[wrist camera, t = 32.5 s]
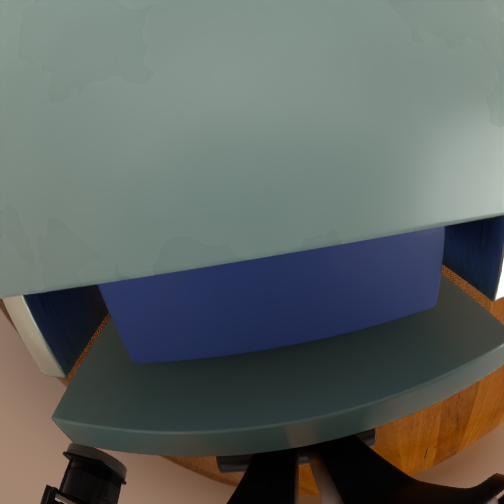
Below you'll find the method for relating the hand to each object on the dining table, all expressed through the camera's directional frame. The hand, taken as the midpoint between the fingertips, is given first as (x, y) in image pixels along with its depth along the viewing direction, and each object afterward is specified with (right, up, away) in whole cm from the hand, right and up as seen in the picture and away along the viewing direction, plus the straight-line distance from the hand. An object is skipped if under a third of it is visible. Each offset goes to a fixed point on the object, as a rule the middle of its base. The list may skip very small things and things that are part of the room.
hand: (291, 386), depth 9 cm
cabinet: (-3, +15, -2) cm, 15 cm away
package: (-1, +6, -1) cm, 6 cm away
